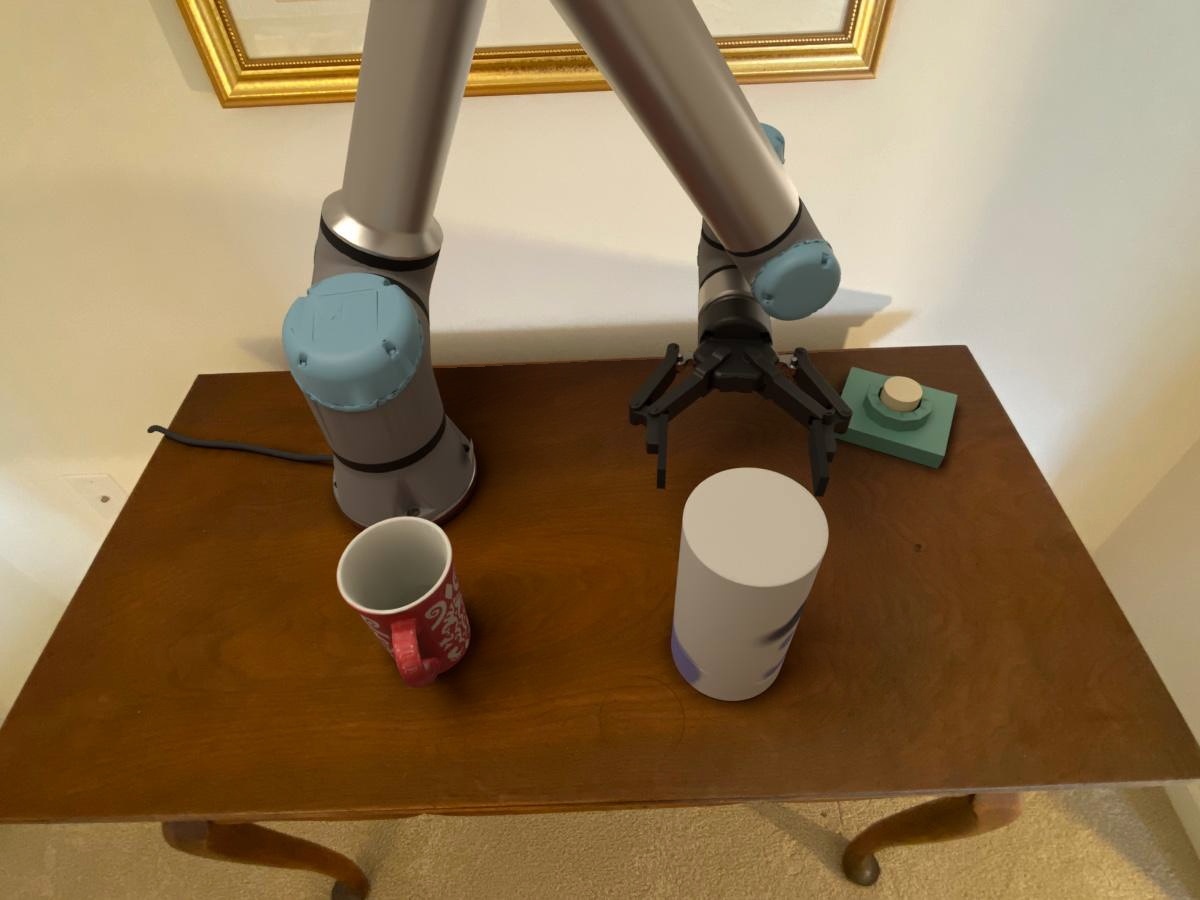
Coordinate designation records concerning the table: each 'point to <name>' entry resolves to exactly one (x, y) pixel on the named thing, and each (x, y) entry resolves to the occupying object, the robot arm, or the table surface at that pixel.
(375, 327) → the robot arm
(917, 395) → the cream push button
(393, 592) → the mug
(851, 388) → the green button base
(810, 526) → the container
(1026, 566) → the table surface
